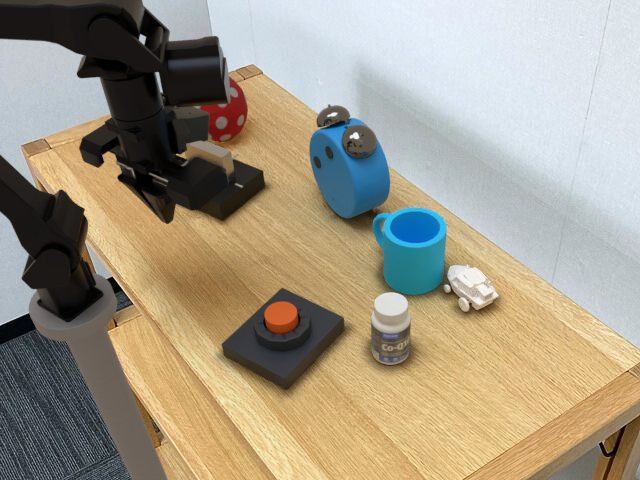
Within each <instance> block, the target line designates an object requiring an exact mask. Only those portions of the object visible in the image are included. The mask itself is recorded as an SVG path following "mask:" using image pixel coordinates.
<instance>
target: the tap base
mask: <svg viewBox="0 0 640 480" xmlns="http://www.w3.org/2000/svg"><path fill="white" fill-rule="evenodd" d="M239 156H240V154H239V153H236V154H235V155H233V156H232V160H233V166H234V171H235V177H236V180H234V181H233V182H232V183H231V184H229V187H227V188H226V189H225V190H223V191H222V192H221V193H219V194H218V195H217V196H216V197H214V198H213V199H212V200H210V201H209V202H208V203H207V204H205V205H204V206H203V207H201V208H200V209H199V210H198V211H199V212H200V211H201V212H202V213H204V214H207V215H209V216H211V217H213V218H215V219H217V220H219V221H225V220H226V219H227V218H229V217H230V216H231V215H233V214H234V213H235V212H236V211H237V210H239V209H240V208H241V207H243V206H244V205H245V204H246V203H247V202H249V201H250V200H251V199H252V198H253V197H254V196H256V195H257V194H259V193H260V192H261V191H262V190H263V189H264V188H266V181H265V174H264V170H262V169H260V168H257V167H255V166H252V165H250V164H247V163H245V162H243V161H241V160H238V159H237V158H238V157H239Z"/></svg>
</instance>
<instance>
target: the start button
mask: <svg viewBox="0 0 640 480" xmlns="http://www.w3.org/2000/svg"><path fill="white" fill-rule="evenodd" d="M264 316H265V322H266V327H267V329H268V330H269V331H270V332H272V333H275V334H286V333H289V332H292V331H293V330H294V329H295V328H296V327H297V325H298V314H297V309H296V307H295V306H294V305H293V304H291V303H289V302H283V301H282V302H276V303H273V304H271V305H270V306H268V307H267V309H266V310H265V313H264Z"/></svg>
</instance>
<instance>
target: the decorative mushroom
mask: <svg viewBox="0 0 640 480" xmlns="http://www.w3.org/2000/svg"><path fill="white" fill-rule="evenodd" d="M229 83H230V103H229V104H218V105H205V106H193V107H195V108H198V109H201V110H203V111H206V112H208V113H209V114H210V115H209V131H208V140H212V141H214V142H217V143H226V142H230V141H232V140H233V139H235V137H237V136H238V135H239V134H241V132H242V130H243V129H244V127H245V125H246V122H247V119H248V112H249V108H248V101H247V97H246V95H245V92H244V90H243V88H242V87H241V86H240V85H239V84H238V82H237V81H236V80H235V79H234V78H233V77H230V76H229Z"/></svg>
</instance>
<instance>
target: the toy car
mask: <svg viewBox="0 0 640 480" xmlns="http://www.w3.org/2000/svg"><path fill="white" fill-rule="evenodd" d="M446 276H447V279H448V281H449V283H450V285H449V284H447V283H446V284H444V285H443V290H444V292H445V293H446V294H448V293H450V292H451V289H452V291H453V292H454V293H455V294H456V295H457V296H458V297H459V299H458V300H457V302H458V306H459V309H461V311H462V312H466V313H467V312H469V311H470V304H471V307H472V308H474V309H475V310H476V311H479V310H480V309H483V308H484V307H486V306H488V305H491V304H492V303H493V302H494V300H496V299H497V298H498V297H499V296H500V295H499V294H498V293H497V292H496V291H497V290H496V289H495V287H494V286H493V285H492V281H491V280H489V278H488V277H487V276H486V275H485V274H484V273H483V272H482V270H480V269H479V268H477V267H476V266H475V267H470V266H469V264H466V265H462V264H452V265H450V266H449V269H448V271H447V275H446Z"/></svg>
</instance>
